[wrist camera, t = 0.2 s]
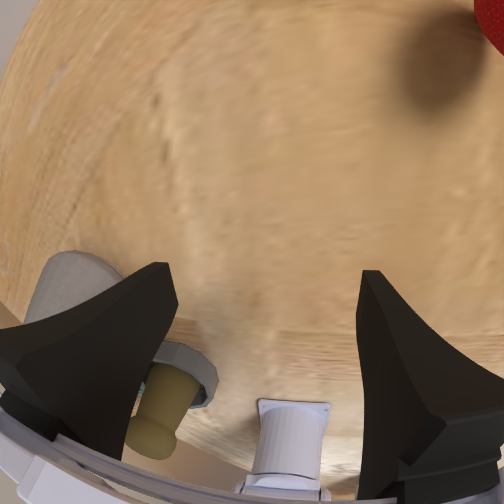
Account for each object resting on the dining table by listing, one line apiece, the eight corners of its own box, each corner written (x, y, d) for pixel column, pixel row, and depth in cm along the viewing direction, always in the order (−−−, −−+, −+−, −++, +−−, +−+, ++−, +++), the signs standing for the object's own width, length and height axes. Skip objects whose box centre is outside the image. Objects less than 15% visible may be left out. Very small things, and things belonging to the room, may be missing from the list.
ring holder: (223, 396, 33) (217, 413, 30) (156, 384, 34) (149, 399, 32) (210, 347, 28) (203, 366, 26) (134, 335, 30) (124, 352, 28)
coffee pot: (136, 238, 24) (14, 377, 11) (165, 340, 29) (100, 467, 17) (1, 234, 28) (-83, 305, 15) (33, 309, 33) (-30, 384, 20)
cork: (194, 391, 33) (163, 470, 24) (148, 366, 32) (109, 442, 23) (215, 369, 30) (182, 462, 21) (164, 341, 29) (117, 429, 20)
